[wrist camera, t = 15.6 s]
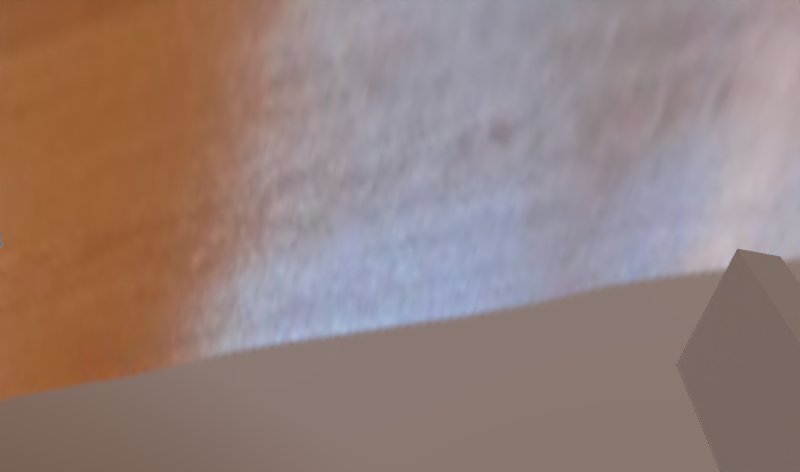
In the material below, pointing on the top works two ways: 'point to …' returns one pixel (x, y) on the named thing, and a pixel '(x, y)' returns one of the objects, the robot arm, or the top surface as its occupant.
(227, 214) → the top surface
